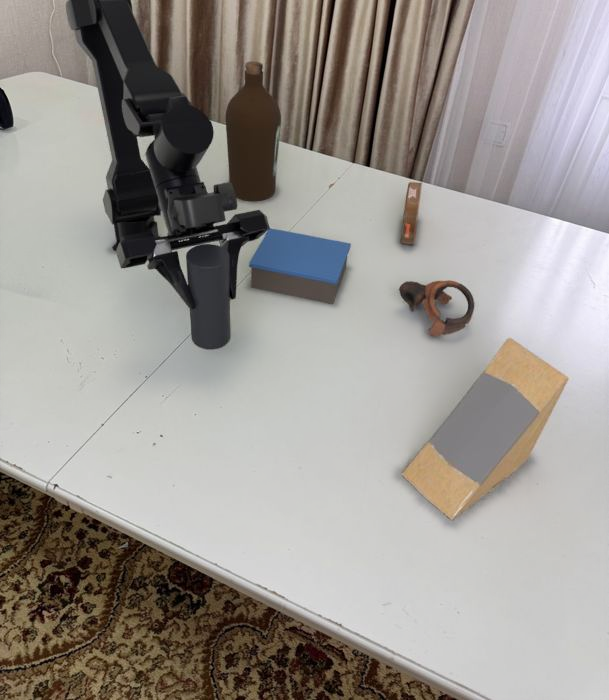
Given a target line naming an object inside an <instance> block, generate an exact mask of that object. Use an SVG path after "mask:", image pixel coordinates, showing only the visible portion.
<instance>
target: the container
mask: <svg viewBox="0 0 609 700" xmlns="http://www.w3.org/2000/svg"><path fill="white" fill-rule="evenodd" d="M351 246H352V243H351V242H345V241H341V240H335V239H329V238H325V237H319V236H314V235H308V234H303V233H298V232H292V231H287V230H283V229H276V228H272V227H270V229H269V230H268V231H267V232H265V234H264V237H263V238H262V240H261V242H260V243H259V245H258V247H257V248H256V250H255V252H254V254H253V256H252V257H251V259H250V261H249V262H248V267H249V268H251V269H250V271H251V272H250V273H251V274H250V275H251V276H250V279H251V280H250V287H251V288H253V289H257V290H263V291H267V292H272V293H277V294H282V295H285V296H286V295H287V296H292V297H295V298H296V297H297V298H301V299H307V300H311V301H316V302H322V303H326V304H330V305H333V304H334V302H335V300H336V297H337V294H338V291H339V289H340V285H341V283H342V281H343V277H344V275H345V272H346V268H347V262H348V255H349V252H350V250H351Z"/></svg>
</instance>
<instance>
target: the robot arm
mask: <svg viewBox="0 0 609 700" xmlns="http://www.w3.org/2000/svg"><path fill="white" fill-rule="evenodd" d="M65 13H66V17H67V21H68V25H69V29H71V31H74V35H75V39H76V42H77V44H78V46H79V47H80V48H81V49H82V50H83V52H84V53H85V54H86V56H87V57H88V58H89V59H90V60H91V64H92V67H93V72H94V77H95V82H96V88H97V90H98V91H97V92H98V97H99V101H100V106H101V111H102V117H103V121H104V125H105V131H106V137H107V140H108V146H109V150H110V156H111V162H110V165H109V168H108V170H107V172H106V175H105V182H106V187H107V189H105V190H104V193H103V197H102V203H103V207H104V212H105V214H106V216H107V217H108V219H109V222H110V223H111V225H113V228H114V235H115V243H114V244H113V246H112V247H111V248H112V251H115V252H116V257H117V261H118V264H119V267H120V269H129V268H132V267H136V266H137V267H138V266H142V265H145V264H146V263H147V261H148V264H147V265H146V267H147V270H149V271H150V270H151V271H152V270H156V271H157V272H158V273H159V274H160V275H161V276H162V277H163V278H164V280H166V282H168V283H169V285H170V286H171V287H172V288H173V290H175V292H176V293H177V295H178V296H179V298H180V299H181V300H182V301H183V303H185V305H186V306H187V308H189V311H190V310H193V309H195V306H194V302H193V298H192V295H191V292H190V289H189V287H188V281H187V280H186V277H185V274H184V272H183V269H182V266H181V263H180V257H179V252H178V250H180V249H185V248H192V247H195V246H198V245H203V244H211V243H214V242H218V244H219V246H221V247H223V248H224V249H226V250H227V251H228V253H229V262H230V301H232V300H235V299H236V298H237V282H238V281H237V279H238V264H239V256H240V252H241V249H242V248H243V246H245V245H246V244H247V243H249V242H253V241H256V240H258V239H260V238H261V237H262V236H264V235H265V234H266V233H267V232H268V230H269V229H270V228H271V227H270V223H269V221H268V217H267V215H266V214H265V213H264V212H263V211H262V210H261V209H255V210H251V211H245V212H240V213H235V214H234V215H233V216H232V217H231V218H230V219H229V220H228V222H227V223H223V222H225V221H226V215H225V212H231V211H235V210H237V209H238V202H237V197H236V195H235V192H234V189H233V186H232V183H229V182H222V183H217V184H214V185H213V192H208V189H207V186H206V185H205V182H204V181H201V177H200V175H199V171H198V168H197V166H198V165H199V164H200V162H201V161H202V159H203V158H204V156H205V155H206V152H208V149H209V148H210V146H211V145H212V143H213V140H214V133H215V132H214V131H215V130H214V126H213V123H212V121H211V120H210V118H209V117H208V116H207V115H206V113H204V111H202V110H201V109H199V108H197V107H195V106H194V105H193V104H192V102H191V101H190V100H189V98H188V97H187V95H186V94H185V93H184V92H182V91H181V89H180V87H179V85H178V84H177V82H176V80H175V79H174V76H173V75H172V74H170V73H168V72H167V71H165V70H163V69H162V68H160V67H158V65H157V63H156V62H155V59H154V57H153V55H152V52H151V50H150V48H149V46H148V44H147V41H146V39H145V37H144V35H143V33H142V30H141V27H140V26H139V23H138V21H137V19H136V17H135V15H134V11H133V4H132V0H67V1H66V3H65ZM138 137H139V138H145V137H153V138H154V139H153V140H152V141H151V142H150V143H149V145H148V146H147V148H146V150H145V153H144V156H145V160H146V163H147V164H146V163H145V161H144V160H143V159H142V157H141V152H140V146H139V141H138ZM161 215H162V216H163V220H164V223H165V226H166V229H167V233H166V235H165V236H160V235H159V227H158V221H155V217H156V216H158V217H159V216H161ZM218 223H222V224H220V225H214V224H218Z"/></svg>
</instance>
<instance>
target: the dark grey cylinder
mask: <svg viewBox="0 0 609 700" xmlns="http://www.w3.org/2000/svg"><path fill="white" fill-rule="evenodd" d="M185 262H186V278H187V284H188V287H189V289H190V292H191V295H192V298H193V302H194V306H195V309H193V310H190V309H189V322H190V335H191V341H192V343H193V344H194V345H195V346H197V347H198V348H200V349H202V350H209V351H210V350H218V349H221V348H223V347H225V346H227V344H229V342H230V341H231V333H232V332H231V298H230V262H229V253H228V251H227V250H226V249H224V248H223V247H221V246H220V245H218V244H212V243H205V244H200V245H196V246H192V247H190V249H188V251H187V252H186V254H185Z"/></svg>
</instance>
